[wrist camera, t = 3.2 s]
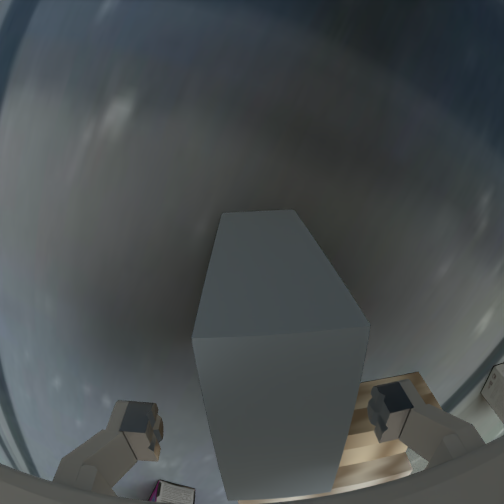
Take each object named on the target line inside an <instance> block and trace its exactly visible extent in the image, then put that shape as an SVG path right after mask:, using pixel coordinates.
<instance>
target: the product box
mask: <svg viewBox="0 0 504 504" xmlns="http://www.w3.org/2000/svg"><path fill="white" fill-rule="evenodd" d="M370 326H371V325H370V324H369V322H368V320H367V319H366V317H365V316H364V314H363V312H362V311H361V309H360V308H359V306H358V304H357V303H356V301H355V300H354V298H353V297H352V295H351V293H350V292H349V290H348V289H347V287H346V286H345V284H344V283H343V281H342V280H341V278H340V277H339V275H338V274H337V272H336V270H335V269H334V267H333V266H332V264H331V263H330V261H329V260H328V258H327V257H326V255H325V254H324V252H323V251H322V250H321V248H320V247H319V245H318V244H317V242H316V241H315V239H314V238H313V236H312V235H311V233H310V232H309V230H308V229H307V228H306V226H305V225H304V223H303V222H302V220H301V219H300V217H299V216H298V215H297V213H296V212H295V210H294V209H292V210H270V211H250V212H232V213H222V215H221V219H220V223H219V227H218V230H217V234H216V238H215V242H214V246H213V250H212V254H211V258H210V262H209V266H208V270H207V274H206V278H205V282H204V287H203V291H202V295H201V299H200V303H199V308H198V312H197V316H196V321H195V325H194V329H193V334H192V344H193V350H194V355H195V361H196V366H197V371H198V376H199V381H200V386H201V391H202V396H203V401H204V405H205V410H206V415H207V419H208V424H209V428H210V432H211V437H212V441H213V445H214V449H215V453H216V457H217V461H218V465H219V469H220V473H221V477H222V481H223V484H224V488H225V492H226V496H227V499H228V500H261V499H276V498H288V497H297V496H306V495H313V494H320V493H327V492H331V490H332V487H333V484H334V480H335V477H336V474H337V471H338V468H339V464H340V461H341V458H342V454H343V451H344V447H345V443H346V440H347V436H348V432H349V428H350V424H351V421H352V416H353V412H354V408H355V404H356V400H357V395H358V391H359V386H360V381H361V376H362V371H363V366H364V361H365V356H366V350H367V345H368V339H369V333H370Z"/></svg>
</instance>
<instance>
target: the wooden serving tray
mask: <svg viewBox="0 0 504 504" xmlns="http://www.w3.org/2000/svg"><path fill="white" fill-rule="evenodd" d="M404 379H409V380H410V381H411V382H412V384H413V385H414V387H415V388H416V390H417V391H418V393H419V394H420V396H421V397H422V399H423V401H424V402H425V404H431V405H433V406H435V407H437V408H439V409H441V410H442V408H441V407H440V405H439V404H438V402H437V400H436V399H435V397H434V396H433V394H432V392H431V391H430V389H429V388H428V386H427V384H426V383H425V381H424V380H423V378H422V377H421V375H420V374H419V372H415V373H410V374H406V375H401V376H396V377H391V378H385V379H380V380H374V381H369V382H363V383H360V386H359V391H358V395H357V400H356V404H355V408H354V412H353V416H352V421H351V424H350V428H349V432H348V436H347V440H346V443H345V447H344V451H343V454H342V458H341V461H340V464H339V468H338V471H337V474H336V477H335V480H334V484H333V487H332V490H331V492H327V493H320V494H313V495H306V496H297V497H288V498H276V499H261V500H238V503H239V504H262V503H275V502H285V501H294V500H302V499H309V498H315V497H321V496H327V495H333V494H338V493H343V492H348V491H353V490H357V489H361V488H366V487H370V486H374V485H377V484H381V483H385V482H388V481H392V480H395V479H399V478H402V477H405V476H408V475H410V473H411V472H412V470H413V469H412V466H411V464H410V462H409V459H408V457H407V455H406V452H405V451H406V449H407V447H408V446H406V445H405V444H404V443H402V442H401V441H400V440H399V439H396V440H392V441H387V442H383V443H379V442H378V439H377V437H376V435H375V432H374V430H375V427H376V426H374V425H373V424H371V423H370V421H369V418H368V414H367V406H368V402H369V400H370V399H371V398H372V395H371V390H372V388H373V386H377V385H381V384H386V383H391V382H395V381H400V380H404Z"/></svg>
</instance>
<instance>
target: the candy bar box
mask: <svg viewBox="0 0 504 504" xmlns="http://www.w3.org/2000/svg"><path fill="white" fill-rule="evenodd" d="M149 501H153V502H163V503H175V504H194V502H195V489H193V488H190V487H186V486H181V485H177V484H173V483H169V482H166V481H162V480H159V481H158V483H157V485H156V487H155V489H154V491H153V493H152V495H151V497H150V499H149Z"/></svg>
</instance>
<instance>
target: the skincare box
mask: <svg viewBox="0 0 504 504" xmlns="http://www.w3.org/2000/svg"><path fill="white" fill-rule="evenodd" d="M481 394H482V395H483V397H484V398H485V399H486V400H487V402H488V403H489V405H490V406H491V407H492V409H493V410H494V411H495V413H496V414H497V415H498V417H499V418H500V420H501V421H502V422H503V424H504V364H500V365H497V366H494V368H493V370H492V372H491V374H490V376H489V378H488V380H487V382H486V384H485V386H484V388H483V390H482V392H481Z"/></svg>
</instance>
